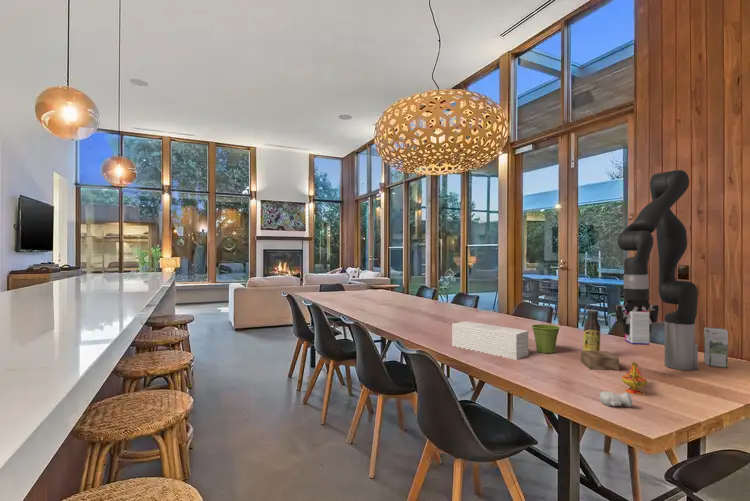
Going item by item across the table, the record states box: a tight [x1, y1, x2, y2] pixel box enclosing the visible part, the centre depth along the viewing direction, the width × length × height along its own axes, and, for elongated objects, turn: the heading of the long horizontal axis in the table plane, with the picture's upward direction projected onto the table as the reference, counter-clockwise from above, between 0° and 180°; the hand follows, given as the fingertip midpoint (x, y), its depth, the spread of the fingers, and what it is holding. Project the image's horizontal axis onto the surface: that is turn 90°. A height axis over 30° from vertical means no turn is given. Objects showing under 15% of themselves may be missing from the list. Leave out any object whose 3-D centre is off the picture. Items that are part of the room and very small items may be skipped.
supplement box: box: [624, 309, 650, 346], centre depth 139 cm, size 6×6×12 cm
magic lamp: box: [621, 361, 648, 396], centre depth 125 cm, size 7×18×11 cm, turn 145°
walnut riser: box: [580, 349, 620, 372], centre depth 151 cm, size 10×10×5 cm
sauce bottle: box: [582, 309, 601, 351], centre depth 164 cm, size 6×6×20 cm
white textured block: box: [451, 320, 529, 361], centre depth 175 cm, size 32×11×11 cm, turn 43°
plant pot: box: [530, 323, 561, 354], centre depth 173 cm, size 12×12×11 cm
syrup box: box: [703, 326, 729, 369], centre depth 152 cm, size 6×6×14 cm
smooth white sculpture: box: [599, 390, 633, 408], centre depth 112 cm, size 4×8×5 cm
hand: (636, 333), depth 139 cm, fingers closed on supplement box, 6 cm apart
